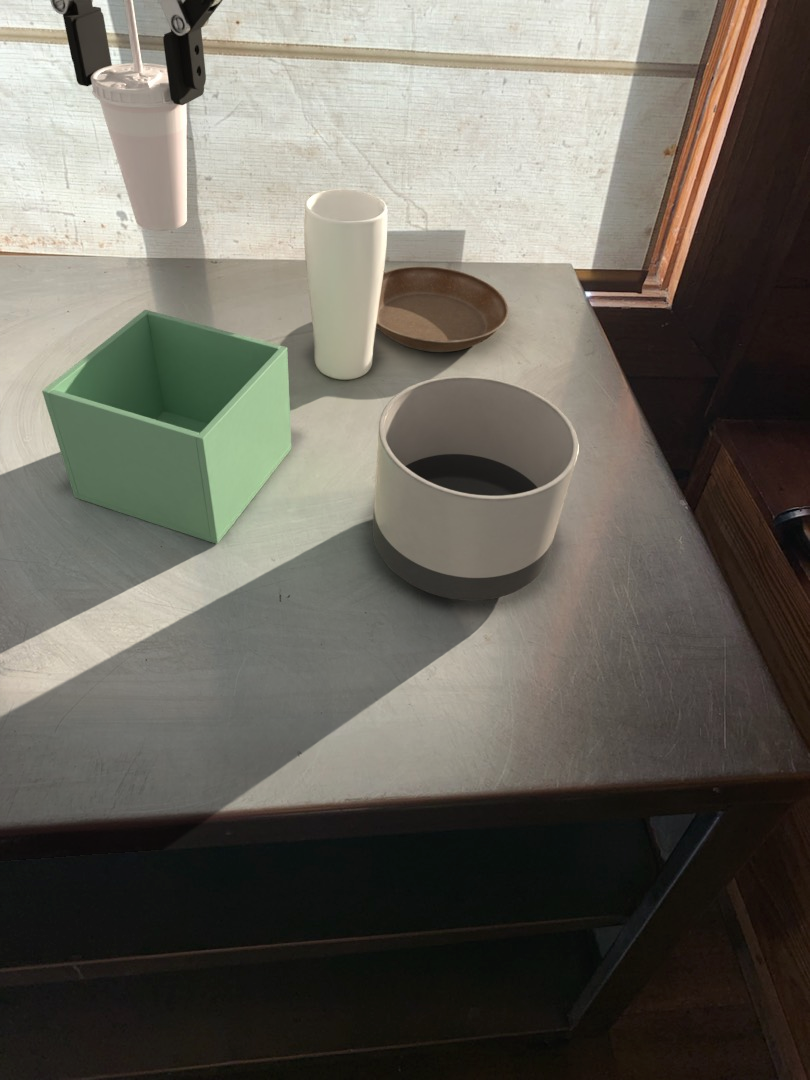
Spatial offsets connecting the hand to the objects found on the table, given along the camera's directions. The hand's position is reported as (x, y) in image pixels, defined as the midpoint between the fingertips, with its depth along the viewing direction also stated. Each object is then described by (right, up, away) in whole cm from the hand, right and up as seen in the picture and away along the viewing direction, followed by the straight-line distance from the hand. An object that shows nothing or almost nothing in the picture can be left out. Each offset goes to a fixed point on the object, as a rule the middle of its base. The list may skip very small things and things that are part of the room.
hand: (141, 87), depth 53 cm
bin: (+1, -25, +9) cm, 27 cm away
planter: (+22, -31, +5) cm, 38 cm away
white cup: (+12, -14, +21) cm, 28 cm away
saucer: (+20, -9, +27) cm, 35 cm away
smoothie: (-1, -6, +7) cm, 9 cm away
